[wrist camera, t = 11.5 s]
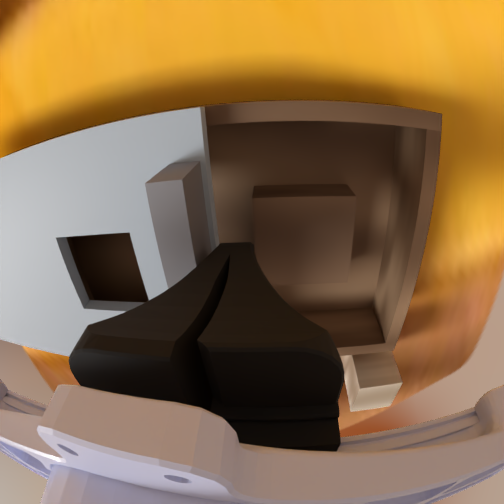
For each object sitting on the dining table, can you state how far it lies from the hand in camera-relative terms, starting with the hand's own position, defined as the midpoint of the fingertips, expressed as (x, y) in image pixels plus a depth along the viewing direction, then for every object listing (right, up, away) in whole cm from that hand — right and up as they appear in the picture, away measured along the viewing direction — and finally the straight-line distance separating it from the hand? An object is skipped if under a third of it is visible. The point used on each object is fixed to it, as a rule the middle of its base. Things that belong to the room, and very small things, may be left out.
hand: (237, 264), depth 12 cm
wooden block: (+9, -6, +10) cm, 15 cm away
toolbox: (-2, +2, +6) cm, 7 cm away
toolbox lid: (-12, 0, +3) cm, 12 cm away
